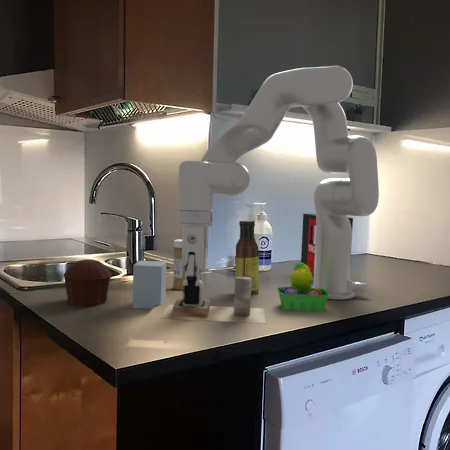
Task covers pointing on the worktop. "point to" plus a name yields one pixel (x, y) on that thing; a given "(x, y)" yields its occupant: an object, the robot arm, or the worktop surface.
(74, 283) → the muffin
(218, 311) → the board
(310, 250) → the cleaning product box
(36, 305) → the worktop surface
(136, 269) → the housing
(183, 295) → the pill bottle
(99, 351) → the worktop surface
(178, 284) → the sprinkles bottle
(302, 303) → the fruit basket
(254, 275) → the sauce bottle
